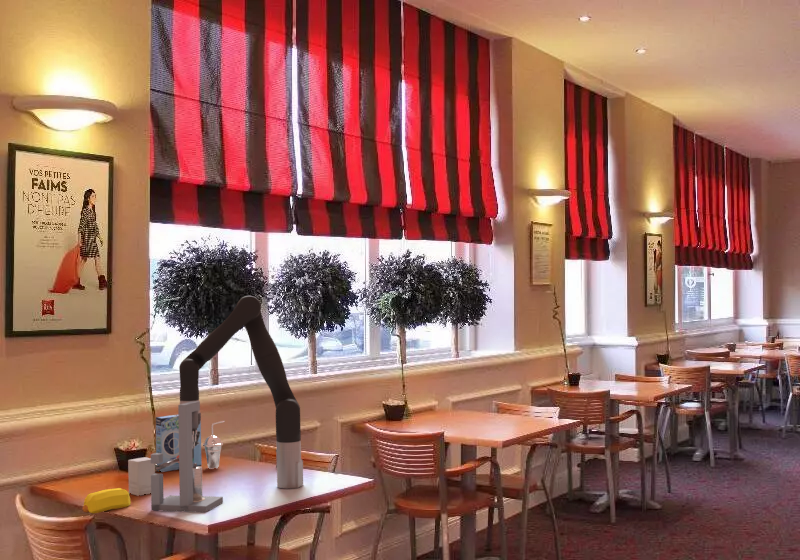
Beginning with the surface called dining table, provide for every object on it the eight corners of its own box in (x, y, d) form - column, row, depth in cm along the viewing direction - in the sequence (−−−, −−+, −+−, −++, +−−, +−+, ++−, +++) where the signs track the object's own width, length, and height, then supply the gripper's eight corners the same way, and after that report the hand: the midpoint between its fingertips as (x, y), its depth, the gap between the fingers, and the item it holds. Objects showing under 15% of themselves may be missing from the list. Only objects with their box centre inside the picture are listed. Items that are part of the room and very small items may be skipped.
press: (222, 502, 303) (221, 400, 304) (206, 512, 289) (204, 405, 290) (170, 501, 307) (168, 400, 308) (151, 510, 293) (149, 404, 294)
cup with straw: (207, 465, 373) (206, 419, 373) (227, 466, 371) (226, 419, 372) (200, 469, 364) (199, 422, 365) (220, 469, 363) (219, 422, 363)
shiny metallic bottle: (204, 498, 301) (204, 462, 302) (198, 501, 297) (198, 464, 297) (192, 497, 302) (191, 461, 303) (185, 500, 298) (185, 464, 298)
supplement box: (156, 492, 321) (155, 458, 322) (137, 496, 316) (137, 461, 316) (146, 490, 326) (145, 456, 327) (128, 493, 321) (127, 459, 321)
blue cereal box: (196, 464, 377) (195, 411, 378) (202, 465, 374) (201, 412, 374) (155, 471, 364) (155, 416, 364) (161, 472, 360) (161, 417, 361)
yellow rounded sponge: (136, 506, 301) (124, 503, 306) (136, 487, 301) (124, 484, 306) (88, 516, 288) (77, 513, 293) (88, 496, 288) (76, 493, 293)
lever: (186, 462, 314) (186, 453, 314) (161, 473, 294) (161, 464, 295) (178, 462, 314) (178, 453, 314) (152, 473, 295) (152, 463, 295)
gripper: (191, 414, 313) (191, 462, 313) (206, 410, 326) (207, 455, 326) (172, 414, 315) (172, 462, 315) (188, 410, 328) (188, 455, 328)
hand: (190, 458), depth 320 cm, fingers closed
